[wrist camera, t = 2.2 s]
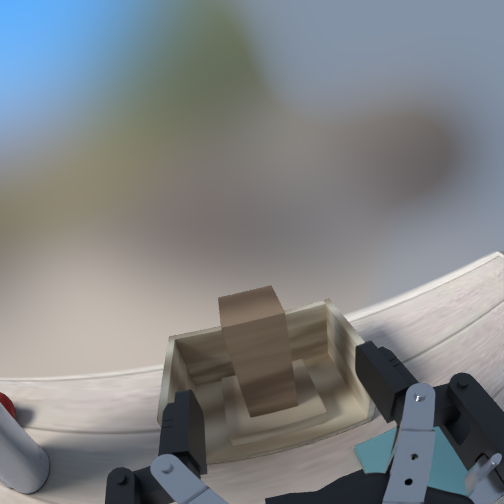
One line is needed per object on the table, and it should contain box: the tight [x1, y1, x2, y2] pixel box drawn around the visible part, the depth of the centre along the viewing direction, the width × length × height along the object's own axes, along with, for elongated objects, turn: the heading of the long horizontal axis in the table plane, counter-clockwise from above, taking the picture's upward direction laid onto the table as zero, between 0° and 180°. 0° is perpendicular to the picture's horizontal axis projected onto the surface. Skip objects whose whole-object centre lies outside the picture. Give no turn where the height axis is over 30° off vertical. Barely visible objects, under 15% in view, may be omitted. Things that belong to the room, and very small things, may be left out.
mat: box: [354, 426, 468, 496], centre depth 15 cm, size 12×12×1 cm
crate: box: [157, 299, 376, 464], centre depth 27 cm, size 13×20×9 cm, turn 99°
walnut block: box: [218, 286, 298, 418], centre depth 25 cm, size 5×5×12 cm
